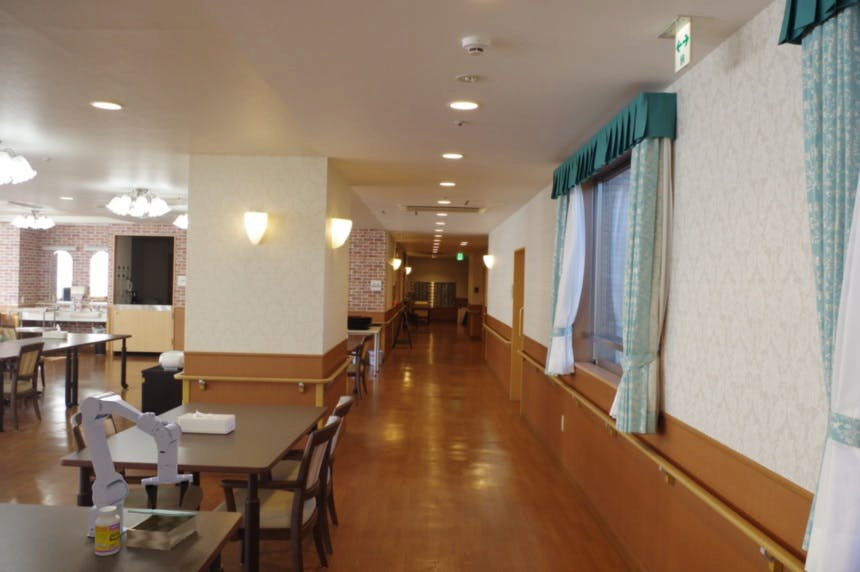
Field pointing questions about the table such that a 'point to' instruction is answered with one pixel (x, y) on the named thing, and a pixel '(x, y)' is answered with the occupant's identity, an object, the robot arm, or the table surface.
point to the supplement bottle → (107, 531)
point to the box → (161, 531)
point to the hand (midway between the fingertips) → (166, 507)
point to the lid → (162, 512)
